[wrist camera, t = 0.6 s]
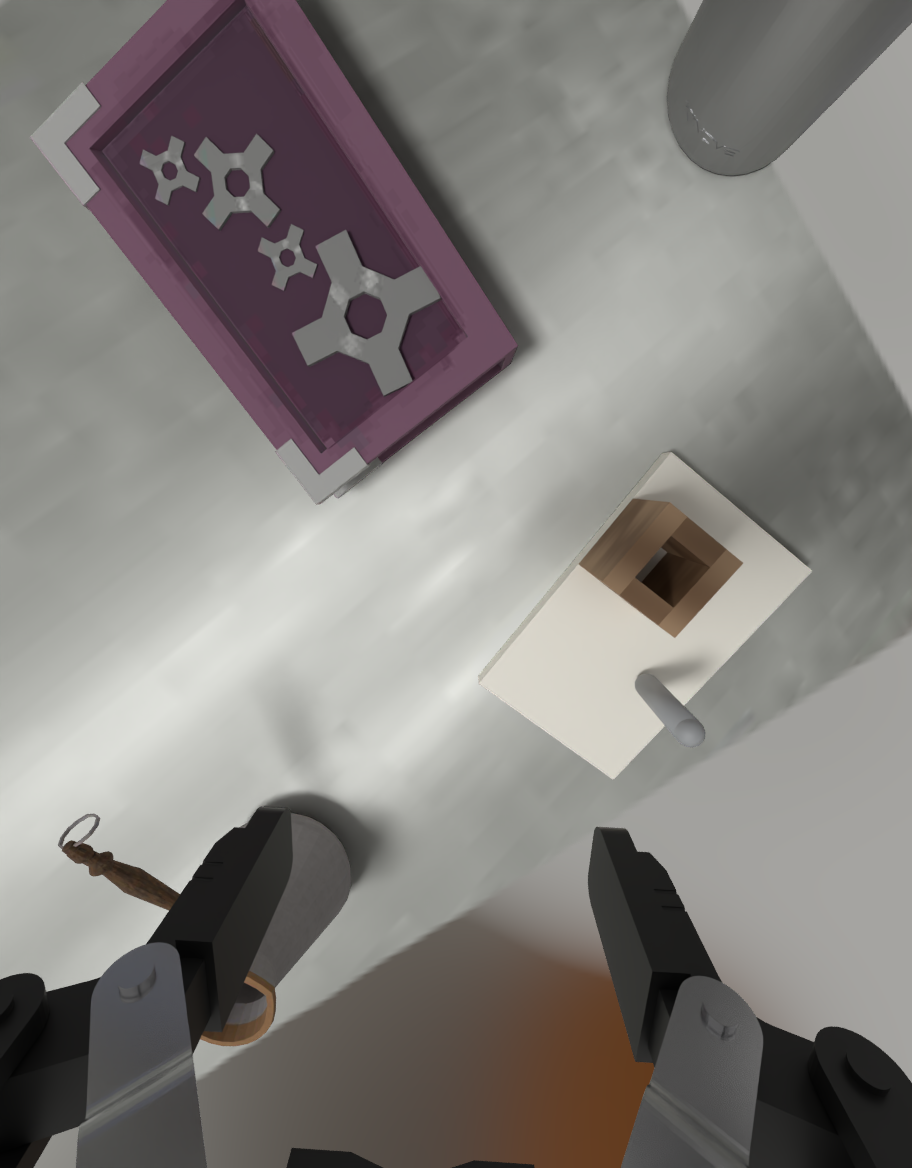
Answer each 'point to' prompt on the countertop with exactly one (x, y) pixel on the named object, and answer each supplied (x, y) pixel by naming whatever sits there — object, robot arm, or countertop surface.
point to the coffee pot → (291, 931)
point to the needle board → (638, 635)
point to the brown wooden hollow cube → (660, 563)
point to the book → (279, 233)
